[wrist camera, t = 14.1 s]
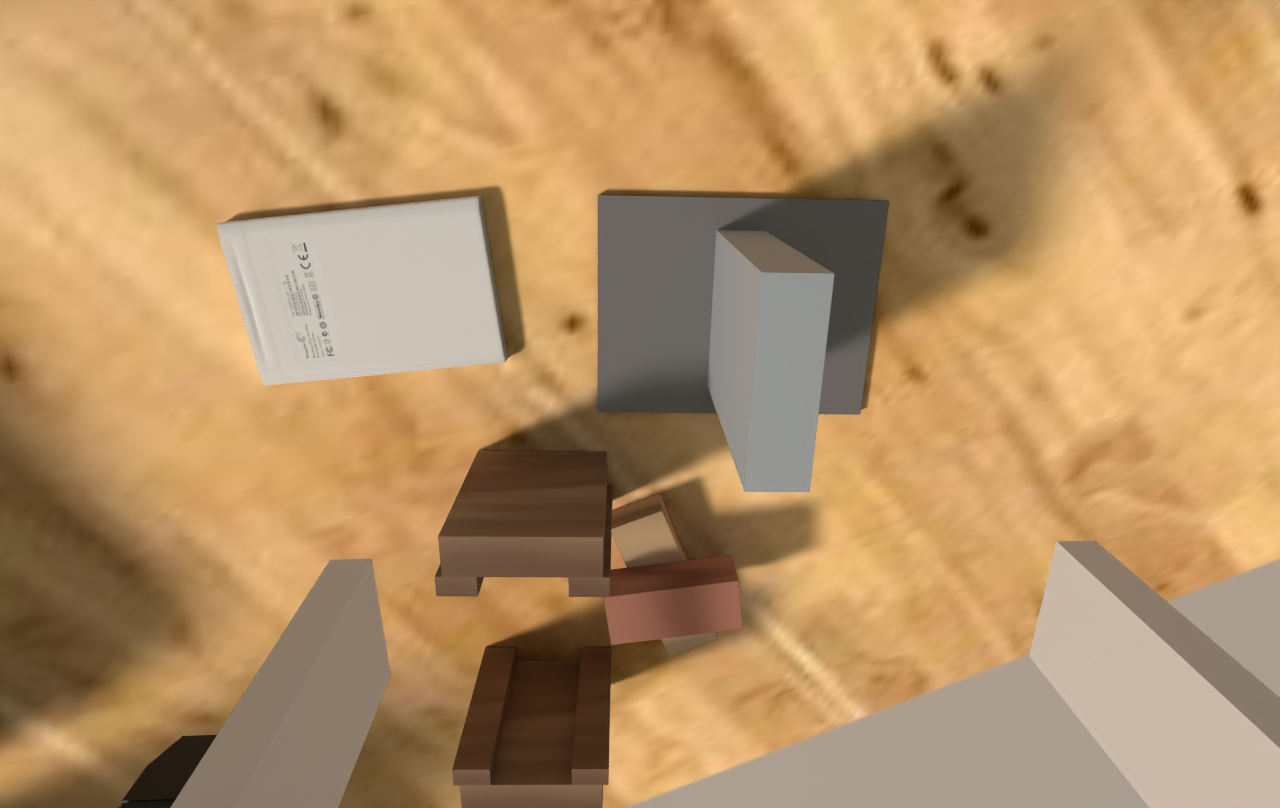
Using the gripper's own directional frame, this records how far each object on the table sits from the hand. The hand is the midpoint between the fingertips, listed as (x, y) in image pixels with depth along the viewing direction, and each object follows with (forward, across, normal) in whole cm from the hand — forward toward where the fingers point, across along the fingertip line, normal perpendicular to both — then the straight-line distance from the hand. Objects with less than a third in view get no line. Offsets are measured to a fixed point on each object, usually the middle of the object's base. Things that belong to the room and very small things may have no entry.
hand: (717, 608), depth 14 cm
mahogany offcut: (+22, +1, -15) cm, 26 cm away
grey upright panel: (+24, +4, 0) cm, 24 cm away
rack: (+24, -6, -16) cm, 29 cm away
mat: (+24, +4, 0) cm, 24 cm away
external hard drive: (+25, -14, +1) cm, 29 cm away
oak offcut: (+24, +1, -15) cm, 29 cm away
